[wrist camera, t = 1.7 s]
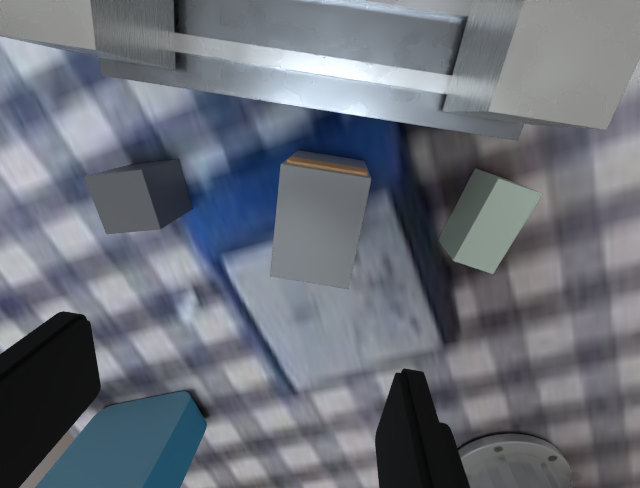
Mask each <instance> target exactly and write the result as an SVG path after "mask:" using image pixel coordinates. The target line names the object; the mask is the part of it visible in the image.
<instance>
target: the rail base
mask: <svg viewBox="0 0 640 488" xmlns="http://www.w3.org/2000/svg"><path fill="white" fill-rule="evenodd" d="M0 36H2V37H6V38H11V39H16V40H20V41H25V42H29V43H34V44H39V45H43V46H48V47H52V48H57V49H61V50H66V51H71V52H75V53H80V54H84V55H89V56H94V57H98V58H99V60H100V69H101V75H103V76H110V77H116V78H122V79H129V80H135V81H141V82H148V83H154V84H160V85H167V86H173V87H179V88H186V89H192V90H199V91H205V92H211V93H218V94H224V95H230V96H237V97H243V98H249V99H256V100H262V101H268V102H275V103H281V104H288V105H294V106H300V107H307V108H313V109H319V110H326V111H332V112H338V113H345V114H351V115H358V116H364V117H370V118H377V119H383V120H389V121H396V122H402V123H408V124H415V125H421V126H427V127H434V128H440V129H447V130H453V131H459V132H466V133H472V134H478V135H485V136H491V137H497V138H504V139H510V140H517V141H518V138H519V135H520V133H521V130H522V127H523V125H524V124H531V125H546V126H560V127H574V128H588V129H603V130H606V129H607V127H608V125H609V123H610V121H611V119H612V117H613V114H614V112H615V110H616V108H617V106H618V104H619V102H620V99H621V97H622V95H623V93H624V91H625V89H626V87H627V84H628V82H629V80H630V78H631V76H632V74H633V72H634V69H635V67H636V65H637V63H638V61H639V59H640V0H0Z"/></svg>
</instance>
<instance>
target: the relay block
mask: <svg viewBox="0 0 640 488" xmlns="http://www.w3.org/2000/svg"><path fill="white" fill-rule="evenodd" d="M84 178H85V180H86V183H87V186H88V188H89V191H90V193H91V196H92V198H93V201H94V203H95V206H96V209H97V211H98V214H99V216H100V219H101V221H102V224H103V226H104V229H105V232H106V234H114V233H125V232H135V231H146V230H157V229H162V228H163V227H165V226H166V225H168V224H170V223H171V222H173V221H174V220H176V219H177V218H179V217H181V216H182V215H184V214H185V213H187V212H188V211H190V210H192V209H193V208H192V204H191V200H190V197H189V193H188V189H187V186H186V182H185V178H184V175H183V171H182V168H181V164H180V160H179V159H174V160H166V161H157V162H149V163H140V164H132V165H127V166H123V167H119V168H115V169H111V170H107V171H103V172H99V173H95V174H91V175H87V176H84Z"/></svg>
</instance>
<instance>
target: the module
mask: <svg viewBox="0 0 640 488" xmlns="http://www.w3.org/2000/svg"><path fill="white" fill-rule="evenodd" d="M370 184H371V176H370V174H369V171H368V168H367V166H366V163H365V161H363V160H357V159H350V158H344V157H338V156H332V155H325V154H319V153H313V152H306V151H300V150H298V151H296V152H295V153H294V154H293V155H291V156H290V157H289V158H288V159H287V160H285V161H284V162H283V163H282V164H281V166H280V177H279V187H278V198H277V208H276V219H275V229H274V240H273V250H272V261H271V271H270V276H271V277H278V278H284V279H290V280H296V281H302V282H308V283H314V284H320V285H326V286H332V287H338V288H344V289H349V285H350V280H351V275H352V270H353V265H354V260H355V256H356V251H357V246H358V241H359V236H360V232H361V227H362V222H363V217H364V212H365V208H366V203H367V198H368V193H369V188H370Z"/></svg>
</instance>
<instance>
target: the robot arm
mask: <svg viewBox="0 0 640 488" xmlns="http://www.w3.org/2000/svg"><path fill="white" fill-rule="evenodd" d="M100 387H101V384H100V378H99V372H98V366H97V360H96V354H95V348H94V342H93V336H92V330H91V324H90V322H89V321H87V319H86V317H85V316H84V315H82V314H76V313H70V312H64V311H63V312H59V313H57V314H56V315H54V316H53V317H52V318H50V319H49V320H47V321H46V322H45V323H43V324H42V325H40V326H39V327H38V328H36V329H35V330H33V331H32V332H31V333H29V334H28V335H27V336H25V337H24V338H22V339H21V340H20V341H18V342H17V343H15V344H14V345H13V346H11V347H10V348H8V349H7V350H6V351H4V352H3V353H1V354H0V488H19V487H20V486H21V484H22V483H23V482H24V481H25V480H26V479H27V478H28V477H29V475H30V474H31V473H32V472H33V471H34V469H35V468H36V467H37V466H38V465H39V464H40V462H41V461H42V460H43V459H44V458H45V457H46V455H47V454H48V453H49V452H50V451H51V450H52V448H53V447H54V446H55V445H56V444H57V443H58V441H59V440H60V439H61V438H62V437H63V435H64V434H65V433H66V432H67V431H68V430H69V429H70V427H71V426H72V425H73V424H74V423H75V422H76V420H77V419H78V418H79V417H80V416H81V415H82V413H83V412H84V411H85V410H86V409H87V408H88V406H89V405H90V404H91V403H92V402H93V401H94V399H95V398H96V397H97V395H98V393H99V391H100ZM375 446H376V457H377V467H378V478H379V488H573V486H572V484H571V478H572V474H571V468H570V466H569V464H568V463H567V461H566V459H565V458H564V456H563V455H562V453H561V452H560V451H559V450H558V449H557V448H556V447H555V446H553V445H552V444H550V443H548V442H547V441H545V440H542V439H539V438H536V437H533V436H529V435H523V434H499V435H492V436H488V437H484V438H481V439H478V440H475V441H473V442H471V443H469V444H467V445H465V446H464V447H462V448H461V449H460V450H458V449H457V446H456V443H455V440H454V437H453V434H452V432H451V429H450V427H449V426H448V425H447V424H445V423H439V420H438V417H437V414H436V410H435V407H434V404H433V401H432V397H431V394H430V391H429V387H428V384H427V381H426V378H425V375H424V373H423V372H422V371H416V370H410V369H403V370H402V372H401V373H396V374H395V376H394V379H393V382H392V385H391V388H390V391H389V395H388V398H387V401H386V404H385V407H384V410H383V413H382V416H381V419H380V422H379V425H378V428H377V432H376V438H375Z"/></svg>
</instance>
